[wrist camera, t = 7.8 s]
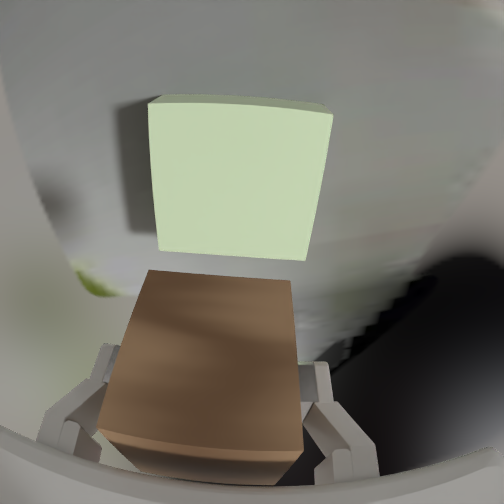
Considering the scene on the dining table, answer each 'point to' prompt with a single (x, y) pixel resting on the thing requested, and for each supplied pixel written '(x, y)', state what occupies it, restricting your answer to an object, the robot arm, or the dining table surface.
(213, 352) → the walnut block
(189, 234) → the base box
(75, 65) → the dining table surface
